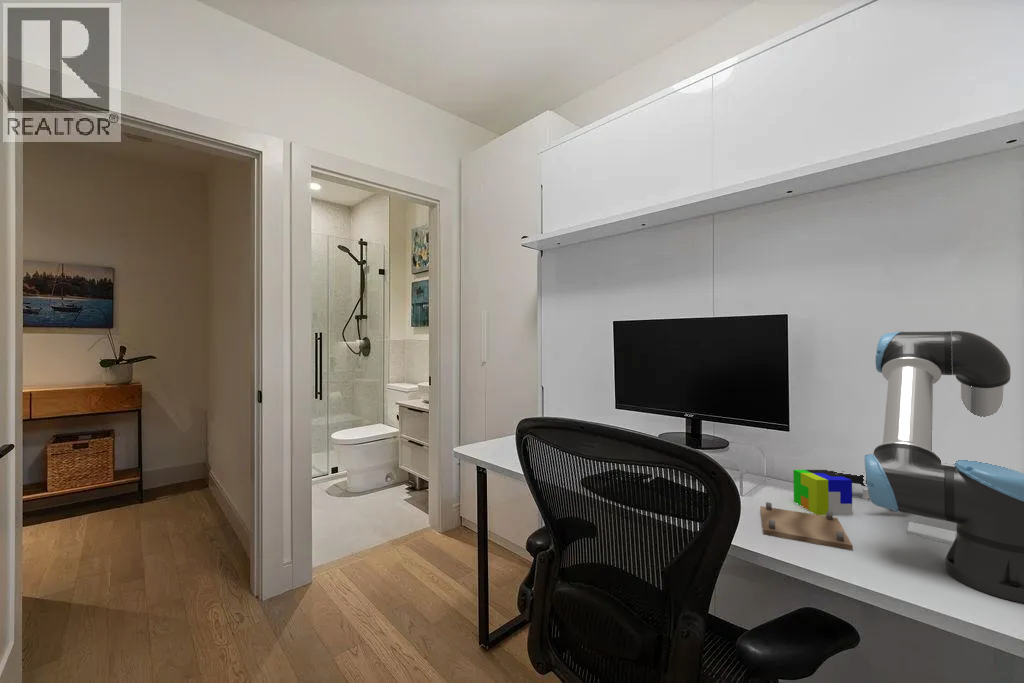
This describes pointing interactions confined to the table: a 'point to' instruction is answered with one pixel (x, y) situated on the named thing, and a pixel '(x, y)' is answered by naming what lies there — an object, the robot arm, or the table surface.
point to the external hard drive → (931, 532)
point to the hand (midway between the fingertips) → (840, 486)
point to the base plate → (804, 527)
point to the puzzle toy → (823, 492)
